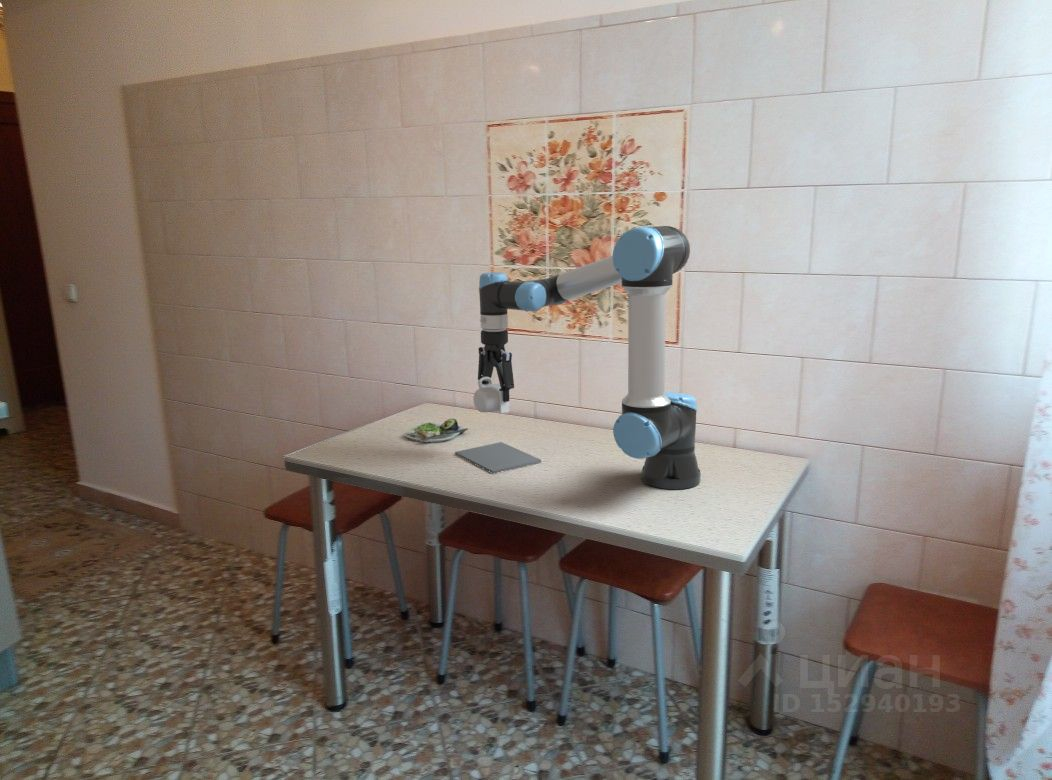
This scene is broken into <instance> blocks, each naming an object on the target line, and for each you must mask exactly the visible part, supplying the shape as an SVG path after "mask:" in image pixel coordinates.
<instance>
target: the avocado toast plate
mask: <svg viewBox="0 0 1052 780" xmlns="http://www.w3.org/2000/svg"><path fill="white" fill-rule="evenodd" d="M468 430H469V428H463V427H462V426H461V425H459V423H458V421H457V419H456V418H449V419H446V420H444V422H442V423H435V422H427V423H426V422H425V423H422V424H419V425H417V426H415V427H414V428H411V429H410V430H408V431H406V432H405V433H404V435H405V437H406V438H407V439H408V440H410V441H413V442H416V441H417V442H418V443H425V442H426V444H427V443H428V444H429V443H430V444H432V443H431V442H434V443H443V442H448V440H449V441H451V440H453V439H454V437H455V438H456V436H457V437H458V435H459V436H460V435H462V434H463V433H465V432H467V431H468ZM417 433H418V434H420V435H422V437H423V438H420V437H416V435H418V434H417ZM442 441H443V442H442Z"/></svg>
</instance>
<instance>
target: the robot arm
mask: <svg viewBox="0 0 1052 780" xmlns="http://www.w3.org/2000/svg"><path fill="white" fill-rule="evenodd" d="M690 253H691V246H690V242H689V240H688V238H687V236H686V234H684V232H683V231H681V230H680V229H678V228H677V227H675V226H671V225H662V226H661V225H660V226H645V225H643V226H638V227H633V228H630V229H628V230H627V231H625V232H624V233H623V234H621V236H620V237H619V238H618V239H617V241H616V243H615V244H614V246H613V251H612V255H610V256H607V257H604V258H601V259H598V260H596V261H593V262H591V263H587V264H584V265H581V266H579V267H576V268H574V269H570V270H568V271H565V272H562V273H559V274H557V275H553V276H551V277H547V278H543V279H535V280H533V279H532V280H525V281H516V280H515V281H512V280H511V281H509V280H508V278H507V274H506V273H504V272H485V273H481V274H480V275H479V286H478V291H479V292H478V293H479V307H480V308H479V309H480V311H479V312H480V313H479V315H480V319H479V322H480V328H481V331H480V343H481V344H482V345H484V346H480V347H478V365H477V367H478V369H477V380H478V381H479V380H480V379H481V378H483V377H490V378H491V379H492V376H493V372H494V368H495V370H496V374H497V378H498V383H500V387H501V389H499V404H500V411H499V413H500V414H507V413H510V390H513V389H514V388H515V381H514V373H513V364H512V360H513V359H512V357H513V354H512V352H507V351H506V349H505V348H506V347H505V345H506V344H508V343H509V332H508V330H507V329H508V328H509V323H508V322H509V318H508V317H509V316H508V310H514V311H515V310H517V311H522V312H523V311H525V312H538V311H540V310H542V308H543V307H544V308H545V307H550V306H558V305H561V304H565V303H567V302H569V301H570V300H573V299H577V298H579V297H583V296H585V295H589V294H591V293H595V292H598V291H601V290H604V289H609V288H612V287H614V286H617V285H620V284H621V289H623V290H624V291H625V292H626V294H627V297H628V299H627V300H628V302H627V304H628V305H627V306H628V307H627V312H628V313H627V317H628V319H627V320H628V323H627V325H628V326H627V328H628V329H627V330H628V331H627V333H628V335H627V339H628V340H627V341H628V342H627V345H628V347H627V348H628V350H627V351H628V353H627V354H628V355H627V358H628V359H627V360H628V361H627V365H628V366H627V367H628V369H627V371H628V372H627V373H628V375H627V376H628V377H627V379H628V380H627V382H628V385H627V387H628V388H627V389H628V390H627V391H628V392H627V394H626V395H625V396H624V397H623V398H622V399H621V415H620V414H619V416H618V417H617V419H616V420H615V422H614V424H613V427H612V428H613V429H612V430H613V432H612V434H613V438H614V441H615V443H616V445H617V446H618V448H619V449H621V450H622V452H623V453H624V454H625V455H626V456H629V457H631V458H634V459H637V460H638V459H639V460H643V459H645V461H644V464H643V466H642V468H641V480H642V481H643V483H644V484H647V485H649V486H651V487H655V488H660V489H665V490H666V489H667V490H685V489H690V488H694V487H696V486H698V485H699V484H700V483H701V475H702V474H701V469H700V468H699V464H698V460H697V456H696V447H695V446H696V430H697V429H696V428H697V427H696V426H697V411H698V409H697V399H696V398H695V397H694V396H693V395H691V394H687V393H681V392H673V391H665V376H666V375H665V371H666V370H665V367H666V365H665V363H666V361H665V360H666V305H667V304H666V298H667V297H666V294H667V293H668V291H669V290H670V289H671V288H672V287H673V277H674V276H673V274H676V273H678V272H679V271H681V270H682V269H683V268H684V267H685V266H686V264H687V263H688V261H689V258H690ZM482 384H483V385H484V386H488V385H489V382H488V381H486V380H484V381H482Z"/></svg>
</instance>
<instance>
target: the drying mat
mask: <svg viewBox="0 0 1052 780" xmlns="http://www.w3.org/2000/svg"><path fill="white" fill-rule="evenodd" d="M454 454H456V456H457V455H458V456H457V457H459V456H460V457H459V458H461V457H462V458H461V459H463V458H464V459H463V460H465V459H466V460H465V461H467V460H468V461H467V462H469V461H470V462H469V463H471V462H472V463H471V464H473V463H474V464H473V465H475V464H476V465H475V466H477V465H478V466H480V467H481V468H480V467H479V468H480V469H482V468H484V469H485V470H484V469H483V470H484V471H486V470H487V471H486V472H488V471H490V472H492V473H495V474H498V473H497V472H500V473H502V472H501V471H504V472H506V471H505V470H508V471H510V470H509V469H512V470H515V468H516V469H519V467H520V468H524V467H528V466H527V465H529V466H533V465H536V463H537V464H540V463H542V459H541V458H538V457H536V456H534V455H532V454H529V453H527V452H526V451H525V452H524V451H523V450H520V449H517V448H516V447H514V446H511V445H509V444H507V443H504V442H502V441H500V442H494V443H490V444H486V445H481V446H476V447H471V448H467V449H463V450H458V451H454ZM532 464H533V465H532ZM478 466H477V467H478ZM523 466H524V467H523ZM490 472H489V473H490ZM492 473H491V474H492Z"/></svg>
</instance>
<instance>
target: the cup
mask: <svg viewBox="0 0 1052 780" xmlns="http://www.w3.org/2000/svg"><path fill="white" fill-rule="evenodd" d="M484 380H486V381H488V382H489V385H488V386H484V385H483V384H482V381H484ZM477 385H478V389H476V391H474V393H473V404H474V407H475V409H476V410H477V411H478V412H480V413H495V412H499V413H500V404H499V389H501V387H500V383H499V382H498V383H495V382H494V380H493V379H492V377H491V378H490V377H483V378H481V379H480V380H478V381H477Z"/></svg>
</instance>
